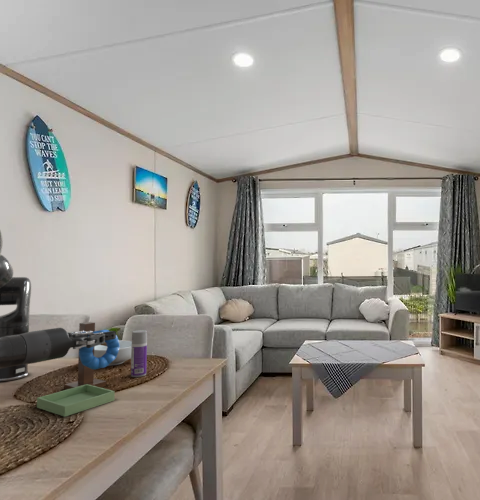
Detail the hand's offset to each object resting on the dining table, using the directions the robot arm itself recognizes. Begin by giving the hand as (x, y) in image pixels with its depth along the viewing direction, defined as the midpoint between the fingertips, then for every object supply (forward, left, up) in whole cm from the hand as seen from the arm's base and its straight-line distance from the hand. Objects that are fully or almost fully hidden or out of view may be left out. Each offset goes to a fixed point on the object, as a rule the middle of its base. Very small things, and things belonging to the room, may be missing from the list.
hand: (110, 334), depth 111 cm
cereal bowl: (-37, +25, -19) cm, 48 cm away
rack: (-12, +4, -19) cm, 23 cm away
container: (-15, +20, -19) cm, 31 cm away
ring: (0, -3, -4) cm, 5 cm away
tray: (-6, -5, -19) cm, 21 cm away
